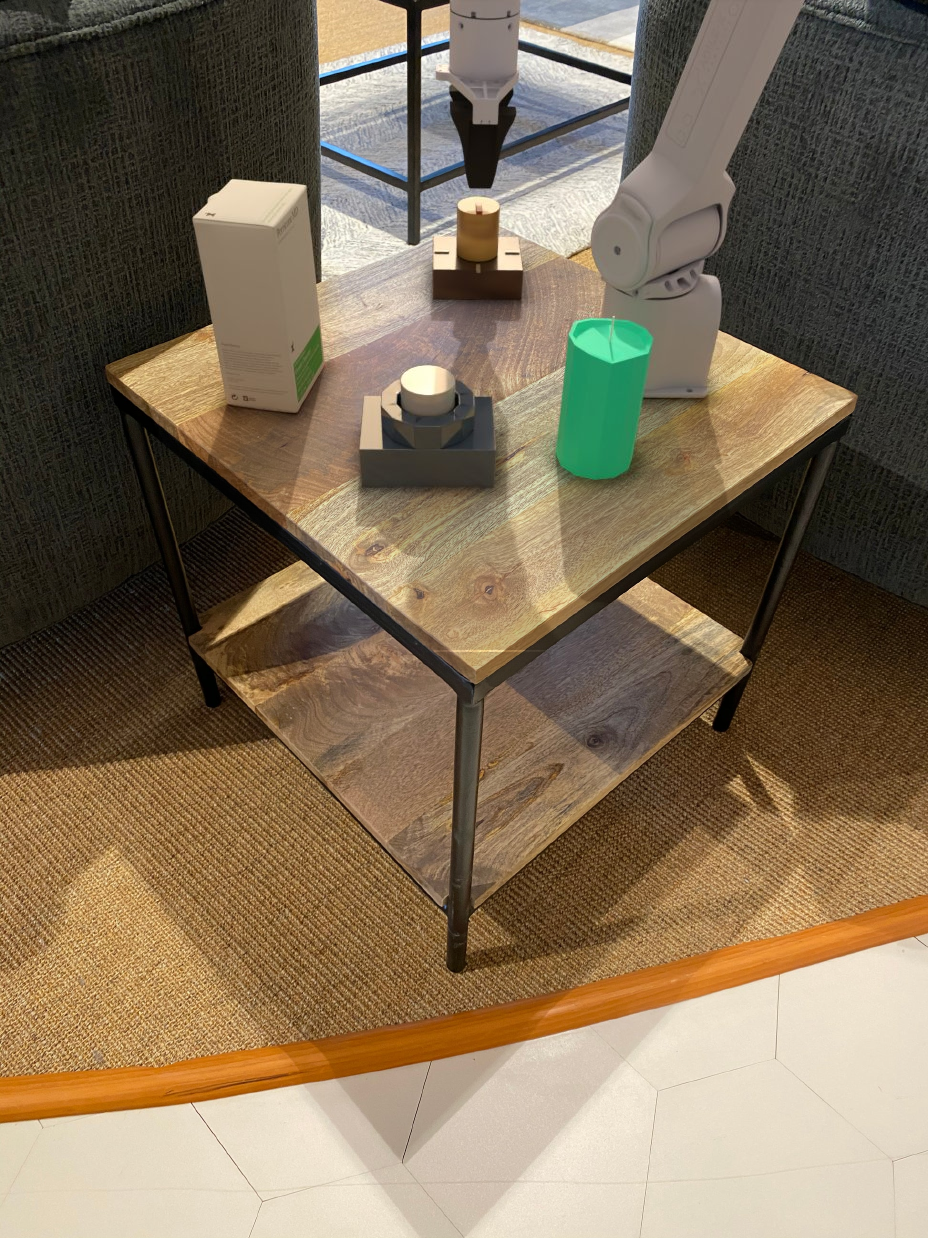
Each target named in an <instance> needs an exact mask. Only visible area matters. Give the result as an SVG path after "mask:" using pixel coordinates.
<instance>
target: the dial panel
mask: <svg viewBox="0 0 928 1238" xmlns="http://www.w3.org/2000/svg"><path fill="white" fill-rule="evenodd" d="M456 239H457V235H456V236H455V235H454V236H453V235H451V236H450V235H448V236H447V235H445V236H443V235H442V236H441V235H436V236H435V235H434V236H432V299H433V300H501V301H502V300H504V301H505V300H509V301H510V300H511V301H512V300H513V301H514V300H515V301H521V300H522V298H523V297H522V295H523V283H524V282H523V281H524V266H523V257H522V250H521V243H520V237H519V236H499V239H498V254H497V256H496V257H495V258H493V259H491V260H488V261H481V262H475V261H468V260H465V259H463V258H461V257H459V256H458V255H457V253H456Z"/></svg>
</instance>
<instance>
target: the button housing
mask: <svg viewBox="0 0 928 1238" xmlns="http://www.w3.org/2000/svg"><path fill="white" fill-rule="evenodd" d="M400 379H401V378H399V379H396V380H394V381H392V382H391V383H390V384H389V385H388V386H387V387H385V389H383V390H382V392H381V394H380V395H363V399H362V411H361V422H360V434H359V445H358V446H359V447H358V455H359V470H360V473H359V474H360V486H361V488H453V489H454V488H455V489H456V488H464V489H465V488H468V489H469V488H471V489H473V488H477V489H479V488H480V489H481V488H483V489H484V488H487V489H489V488H490V489H491V488H492V489H493V488H495V483H496V482H495V481H496V464H497V463H496V462H497V442H496V440H497V439H496V427H495V411H494V400H493V396H475V393H474V392H473V390H472V389H471V388H469V387H468V386H467V385H466V384H465V383H464V382H462V380H459V379H456V378H455V406H454V408H453V410H452V411H451V412H450V413H448V414H445V415H442V416H439V417H417V416H414V415H411V414H408V413H406V412H405V411H404V410H403V409H402V407H401V392H400Z"/></svg>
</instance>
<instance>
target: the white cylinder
mask: <svg viewBox="0 0 928 1238" xmlns="http://www.w3.org/2000/svg"><path fill="white" fill-rule="evenodd" d="M399 379H400V392H401V407H402V409H403V410H404V411H405V412H406V413H408V414H411V415H414V416H417V417H439V416H442V415H445V414H448V413H450V412H451V411H452V410H453V408H454V406H455V379H456V378H455V376H454V374H453V373H452V372H451V370H448V369H446V368H444V367H441V366H439V365H438V366H437V365H430V364H429V365H419V366H418V365H417V366H414V367H411V368H409V369H407V370H406V371H404V372H403V373H402V375H401V376H400V378H399Z"/></svg>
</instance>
